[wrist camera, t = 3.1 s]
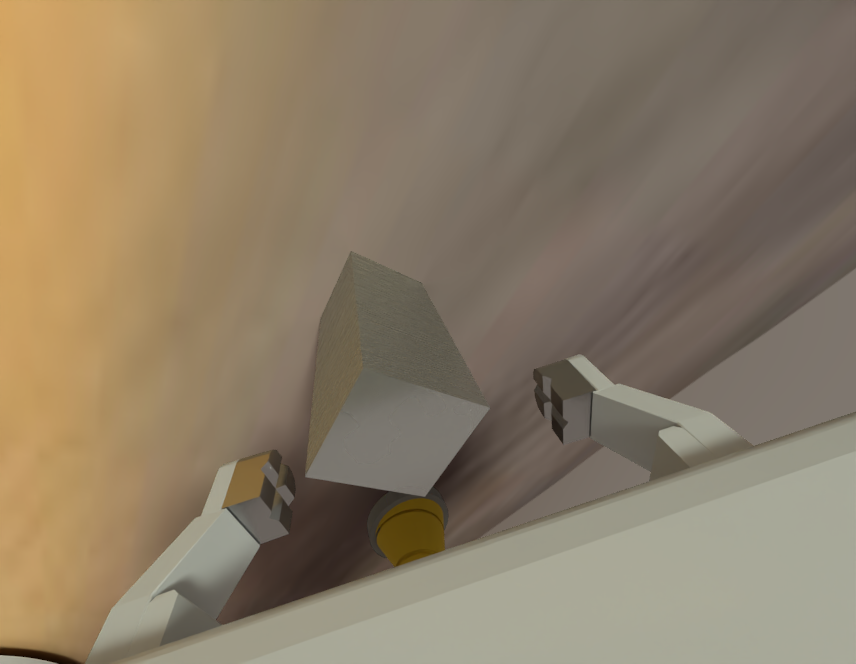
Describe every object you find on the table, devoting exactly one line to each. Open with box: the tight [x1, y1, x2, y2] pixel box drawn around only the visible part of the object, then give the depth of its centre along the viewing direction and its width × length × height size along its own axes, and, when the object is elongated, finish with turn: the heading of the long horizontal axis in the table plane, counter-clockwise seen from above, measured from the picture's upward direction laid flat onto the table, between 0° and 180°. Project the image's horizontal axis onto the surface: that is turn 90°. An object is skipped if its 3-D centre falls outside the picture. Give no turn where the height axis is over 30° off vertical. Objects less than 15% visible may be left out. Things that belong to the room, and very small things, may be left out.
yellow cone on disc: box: [367, 487, 448, 567], centre depth 22 cm, size 5×5×10 cm
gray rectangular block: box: [305, 251, 490, 497], centre depth 14 cm, size 4×4×10 cm
